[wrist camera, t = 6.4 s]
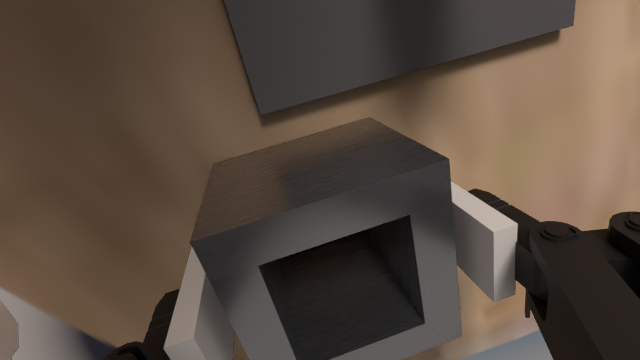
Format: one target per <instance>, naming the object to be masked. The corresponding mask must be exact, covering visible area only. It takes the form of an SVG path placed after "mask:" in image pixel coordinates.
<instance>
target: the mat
mask: <svg viewBox="0 0 640 360" xmlns="http://www.w3.org/2000/svg"><path fill="white" fill-rule="evenodd" d="M575 1H576V0H224V3H225V6H226V9H227V12H228V15H229V18H230V22H231V25H232V28H233V31H234V34H235V37H236V40H237V43H238V46H239V50H240V53H241V56H242V59H243V62H244V65H245V68H246V71H247V74H248V77H249V81H250V84H251V87H252V90H253V93H254V96H255V99H256V102H257V105H258V109H259V112H260V115H263V114H267V113H270V112H274V111H277V110H281V109H284V108H288V107H291V106H295V105H298V104H302V103H305V102H309V101H312V100H316V99H319V98H323V97H326V96H330V95H333V94H337V93H340V92H344V91H347V90H351V89H354V88H357V87H361V86H364V85H368V84H371V83H375V82H378V81H382V80H385V79H389V78H392V77H396V76H399V75H403V74H406V73H410V72H413V71H417V70H420V69H424V68H427V67H431V66H434V65H438V64H441V63H445V62H448V61H452V60H455V59H459V58H462V57H466V56H469V55H473V54H476V53H480V52H483V51H486V50H490V49H493V48H497V47H500V46H504V45H507V44H511V43H514V42H518V41H521V40H525V39H528V38H532V37H535V36H539V35H542V34H546V33H549V32H553V31H556V30H560V29H563V28H567V27H570V26H573V23H574V12H575Z"/></svg>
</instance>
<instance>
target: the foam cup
mask: <svg viewBox="0 0 640 360" xmlns="http://www.w3.org/2000/svg"><path fill="white" fill-rule="evenodd" d="M18 348H19V344H18V323H17V322H16V321H15V319H14V318H13V316H12V315H11V314H10V313H9V311H8V310H7V309H6V307H5V306H4V305H3V303H2V302H1V301H0V360H12V356H13V354H14V353H15V352H16V350H17V349H18Z"/></svg>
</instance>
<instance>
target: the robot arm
mask: <svg viewBox="0 0 640 360" xmlns="http://www.w3.org/2000/svg"><path fill="white" fill-rule="evenodd" d="M451 191H452V205H453V219H454V233H455V247H456V261H457V265H458V266H459V267H460V268H461V269H462V270H463V271H464V272H465V274H466V275H467V276H468V277H469V278H470V279H471V280H472V281H473V282H474V283H475V284H476V285H477V286H478V287H479V288H480V289H481V290H482V291H483V292H484V293H485V294H486V295H487V296H488V297H489V298H490V299H491V300H492V301H493V302H496V301H499V300H502V299H504V298H507V297H510V296H512V295H515V289H516V280H517V281H518V282H519V283H520V284H521V285H523V286H524V287H525V288H526V297H525V317H526V318H530V310H531V311H532V313H533V315H534V318H535V320H536V322H537V324H538V326H539V329H540V331H541V333H542V335H543V338H544V339H545V342H546V344H547V346H548V349H549V351H550V353H551V355H552V357H553V359H554V360H640V212H621V213H618V214H615V215H613V216H612V217H611V219H610V221H609V227H608V229H600V230H590V231H581V230H579V229H578V228H577V227H574V226H572V225H570V224H567V223H562V222H557V221H545V222H539V221H538V220H536V219H534V218H532V217H531V216H529V215H527V214H526V213H524V212H522V211H520V210H519V209H517V208H515V207H514V206H512V205H509V204H508V203H507V202H505V201H503V200H500V198H498V197H496V196H495V195H493V194H491V193H489V192H486V191H482V190H478V189H473V190H470V191H465V190H464V189H462V188H461V187H459V186H458V185H456V184H454V183H453V182H451ZM233 349H234V329H233V327H232V325H231V323H230V321H229V319H228V317H227V315H226V313H225V311H224V309H223V307H222V305H221V303H220V301H219V299H218V297H217V295H216V293H215V291H214V289H213V287H212V285H211V283H210V281H209V279H208V277H207V275H206V273H205V271H204V269H203V267H202V265H201V263H200V261H199V259H198V257H197V255H196V253H195V251H194V250H193V248H191V251H190V255H189V258H188V262H187V266H186V269H185V273H184V276H183V280H182V284H181V287H180V289H177V290H174V291H171V292H168V293H166V294H165V295H164V296H163V298H162V299H161V300H160V302H159V303H158V304H157V306H156V308H155V311H154V313H153V316H152V321H151V322H150V325H149V328H148V331H147V333H146V336H145V339H144V342H143V343H142V342H137V341H135V342H131V343H127V344H125V345H123V346H121V347H119V348H117V349H115V350H114V351H113V352H111V353H110V354H109V355H107V356H106V357H105V358H104V359H103V360H233Z"/></svg>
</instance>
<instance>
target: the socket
mask: <svg viewBox="0 0 640 360" xmlns="http://www.w3.org/2000/svg"><path fill="white" fill-rule="evenodd" d="M363 230H364V231H365V232H363V233H360V234H357V235H354V236H352V237H349V238H346V239H343V240H340V241H337V242H334V243H331V244H328V245H325V246H322V247H319V248H316V249H313V250H310V251H307V252H304V253H301V254H298V255H295V256H292V257H289V258H286V259H283V260H282V259H281V258H283V257H286V256H288V255H291V254H294V253H297V252H300V251H303V250H306V249H309V248H312V247H315V246H318V245H321V244H324V243H327V242H330V241H333V240H336V239H339V238H342V237H345V236H348V235H351V234H354V233H357V232H360V231H363ZM190 244H191V246H192V248H193V250H194V251H195V253H196V255H197V257H198V259H199V261H200V263H201V265H202V267H203V269H204V271H205V273H206V275H207V277H208V279H209V281H210V283H211V285H212V287H213V289H214V291H215V293H216V295H217V297H218V299H219V301H220V303H221V305H222V307H223V309H224V311H225V313H226V315H227V317H228V319H229V321H230V323H231V325H232V327H233V329H234V331H235V333H236V335H237V337H238V339H239V341H240V343H241V345H242V347H243V349H244V351H245V353H246V355H247V357H248V359H249V360H402V359H405V358H407V357H410V356H412V355H415V354H417V353H420V352H423V351H425V350H428V349H430V348H433V347H436V346H438V345H441V344H443V343H446V342H449V341H451V340H454V339H456V338H459V337H462V330H461V317H460V303H459V289H458V275H457V261H456V247H455V233H454V219H453V205H452V191H451V178H450V164H449V159H448V158H446V157H445V156H443V155H441V154H439V153H437V152H435V151H433V150H431V149H429V148H427V147H425V146H424V145H422V144H420V143H418V142H416V141H414V140H412V139H410V138H408V137H406V136H404V135H403V134H401V133H399V132H397V131H395V130H393V129H391V128H389V127H387V126H385V125H383V124H381V123H380V122H378V121H376V120H374V119H372V118H370V117H369V118H366V119H362V120H359V121H356V122H352V123H349V124H346V125H342V126H339V127H336V128H332V129H329V130H326V131H322V132H319V133H315V134H312V135H309V136H305V137H302V138H299V139H295V140H292V141H289V142H285V143H282V144H279V145H275V146H272V147H269V148H265V149H262V150H258V151H255V152H252V153H248V154H245V155H242V156H238V157H235V158H232V159H228V160H225V161H222V162H218V163H215V164H213V167H212V170H211V173H210V177H209V180H208V183H207V187H206V190H205V193H204V197H203V200H202V203H201V207H200V210H199V213H198V217H197V220H196V223H195V227H194V230H193V233H192V237H191V240H190Z"/></svg>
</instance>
